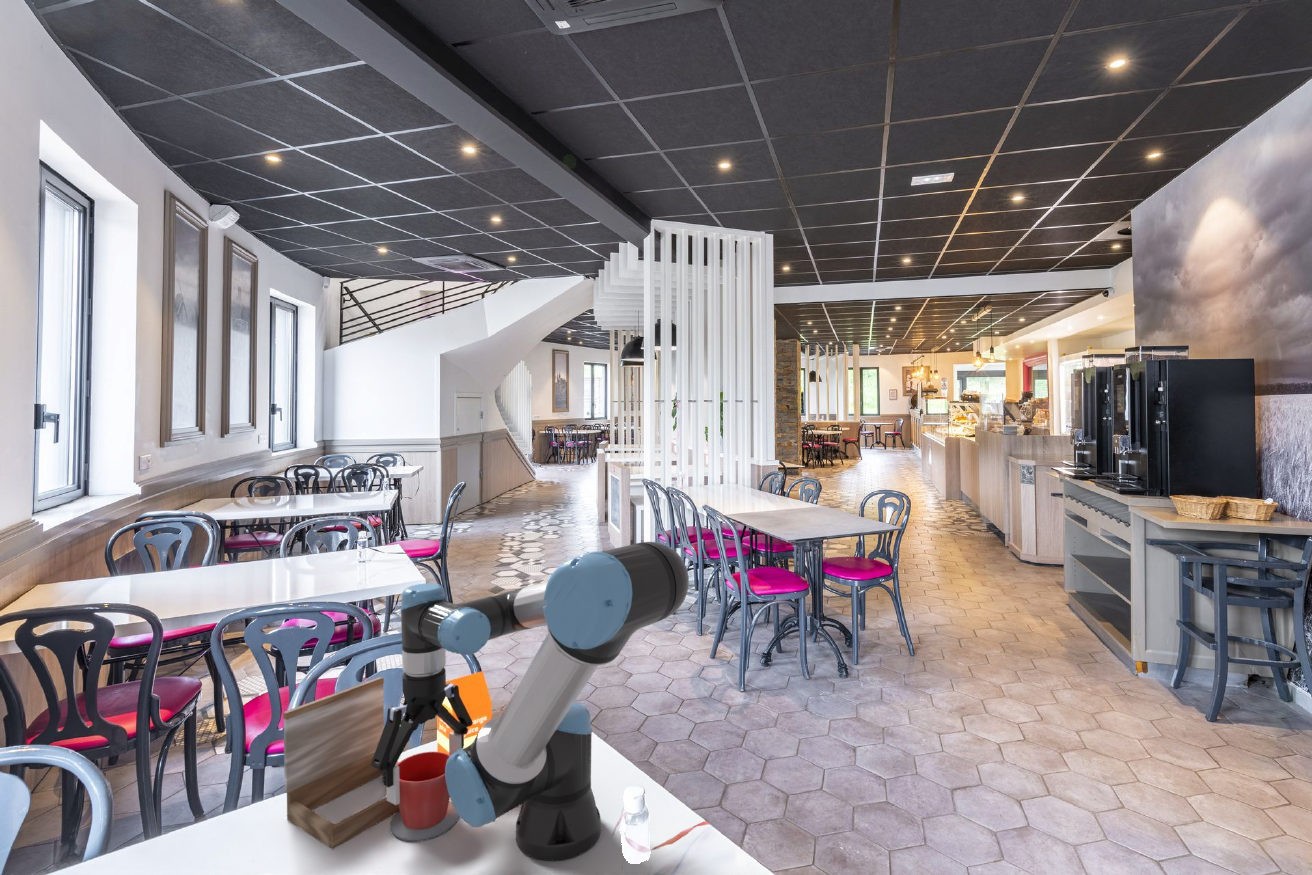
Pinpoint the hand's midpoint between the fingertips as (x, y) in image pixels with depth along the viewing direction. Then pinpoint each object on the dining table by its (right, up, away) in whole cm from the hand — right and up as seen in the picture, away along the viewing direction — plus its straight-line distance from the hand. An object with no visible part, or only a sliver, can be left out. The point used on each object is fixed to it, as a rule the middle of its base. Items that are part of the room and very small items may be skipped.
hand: (425, 783), depth 120 cm
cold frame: (-15, -7, +5) cm, 17 cm away
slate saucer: (0, -7, 0) cm, 7 cm away
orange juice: (+2, -7, +18) cm, 19 cm away
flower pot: (0, -7, 0) cm, 7 cm away
